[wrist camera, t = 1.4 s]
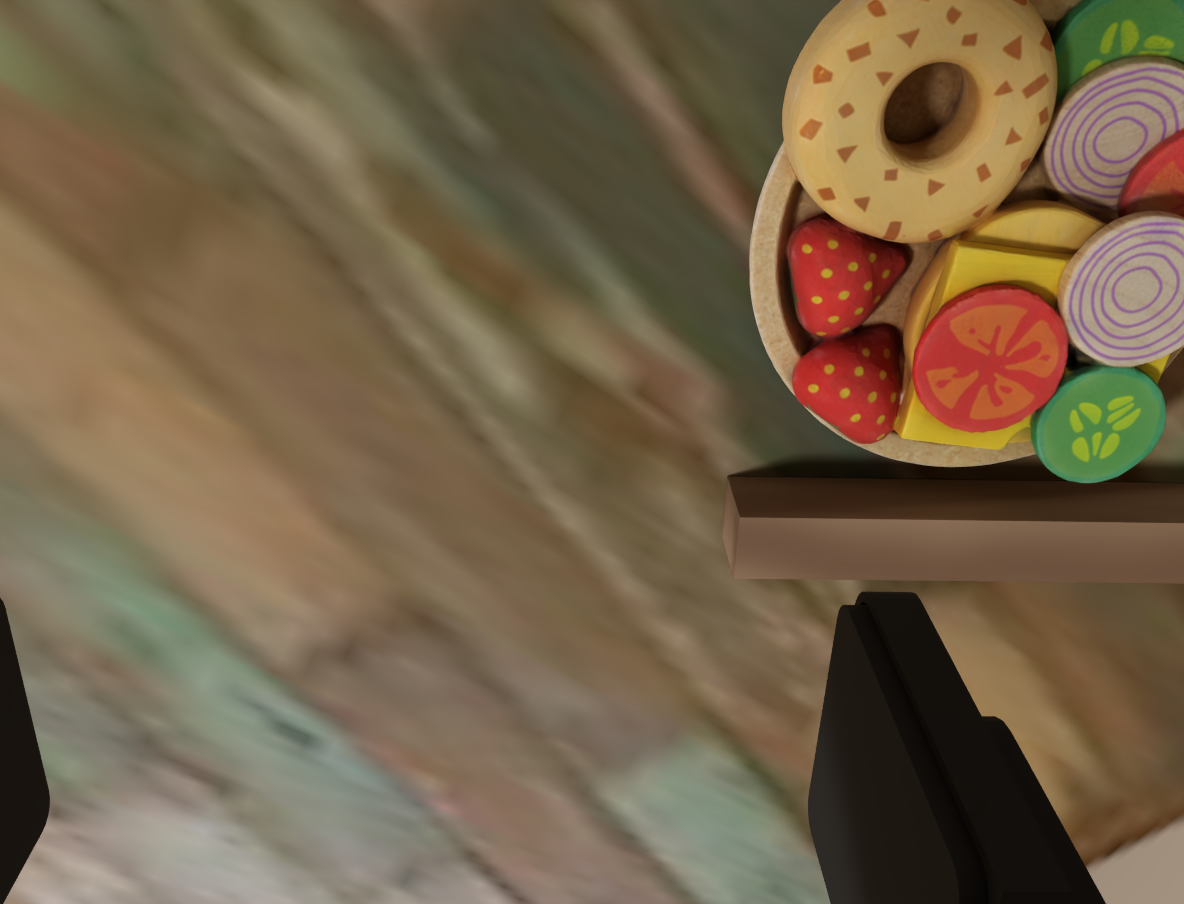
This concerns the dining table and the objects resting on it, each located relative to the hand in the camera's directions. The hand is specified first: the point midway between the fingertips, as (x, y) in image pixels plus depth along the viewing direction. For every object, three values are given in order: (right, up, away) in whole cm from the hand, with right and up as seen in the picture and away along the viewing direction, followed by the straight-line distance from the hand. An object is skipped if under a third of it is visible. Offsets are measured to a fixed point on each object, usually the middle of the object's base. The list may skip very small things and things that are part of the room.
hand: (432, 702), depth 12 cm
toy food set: (+12, +9, +19) cm, 24 cm away
